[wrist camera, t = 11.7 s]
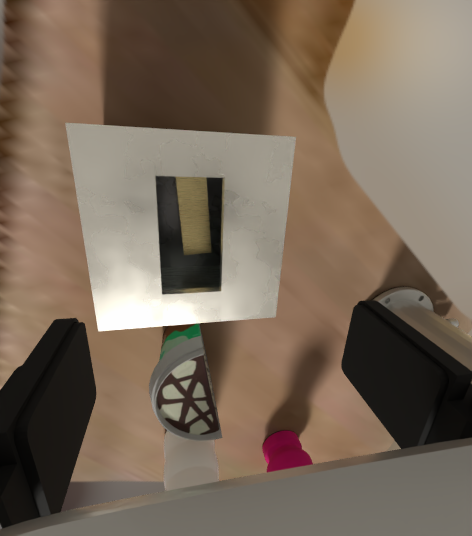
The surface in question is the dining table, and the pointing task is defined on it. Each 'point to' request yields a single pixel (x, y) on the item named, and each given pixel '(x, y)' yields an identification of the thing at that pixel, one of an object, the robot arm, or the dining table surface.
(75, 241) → the dining table surface
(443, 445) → the robot arm
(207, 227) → the beige rectangular block
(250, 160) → the box
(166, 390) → the half-round slice
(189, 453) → the water bottle
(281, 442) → the pepper mill
